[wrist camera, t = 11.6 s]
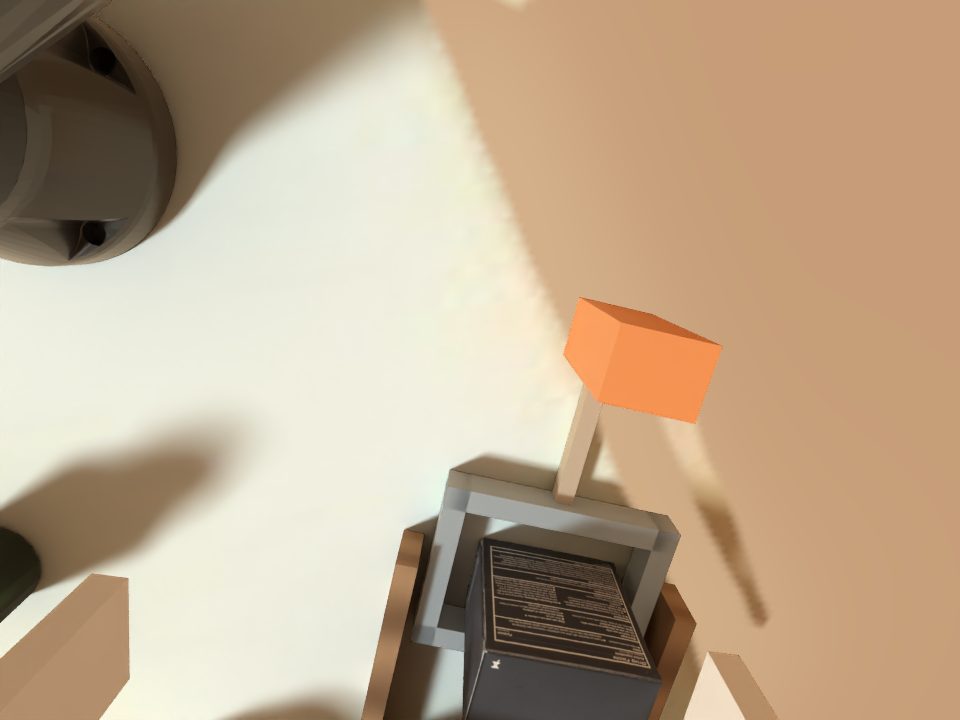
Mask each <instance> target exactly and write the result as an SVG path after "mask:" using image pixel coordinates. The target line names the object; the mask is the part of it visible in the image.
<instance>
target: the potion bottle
mask: <svg viewBox="0 0 960 720" xmlns="http://www.w3.org/2000/svg"><path fill="white" fill-rule="evenodd" d="M39 579H40V565H39V559H38V557H37V555H36V554H35V552H34V550H33V548H32V546H30V545H29V544H28V543H27V542H26V541H25V540H24V539H23V538H22V537H20V536H19V535H17V534H15V533H13V532H10V531H8V530H6V529H4V528H0V623H1V622H2V621H3V620H4V619H5V618H6V617H7V616H8V615H9V614H10V613H11V612H12V611H13V610H14V609H15V608H17V607H18V606H19V605H20V604H21V603H22V602H23V601H24V600H25V599H26V598H27V597H28V596H29V595H30V594H31V593H32V592H33V591H35V588H36V586H37V584H38V581H39Z"/></svg>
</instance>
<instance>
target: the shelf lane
mask: <svg viewBox="0 0 960 720" xmlns="http://www.w3.org/2000/svg"><path fill="white" fill-rule="evenodd" d="M423 537H424V534H422V533H417V532H412V531H407V530H404V532H403V536H402V540H401V544H400V548H399V552H398V556H397V560H396V564H395V569H394V573H393V578H392V583H391V587H390V592H389V596H388V601H387V605H386V610H385V614H384V619H383V623H382V628H381V632H380V637H379V641H378V646H377V650H376V655H375V659H374V664H373V669H372V673H371V678H370V682H369V687H368V691H367V696H366V700H365V705H364V709H363V714H362V718H361V720H383V715H384V711H385V707H386V703H387V698H388V694H389V690H390V685H391V681H392V677H393V673H394V668H395V664H396V660H397V655H398V651H399V647H400V643H401V638H402V634H403V630H404V625H405V621H406V617H407V613H408V608H409V604H410V600H411V595H412V591H413V587H414V583H415V578H416V574H417V570H418V565H419V559H420V554H421V548H422V542H423ZM695 627H696V622H695V620H694V618H693V617H692V615H691V613H690V611H689V610H688V608H687V606H686V604H685V602H684V601H683V599H682V597H681V595H680V594H679V592H678V590H677V588H676V586H675V585H673V584H668V583H663V585H662V588H661V591H660V593H659V596H658V599H657V602H656V604H655V607H654V610H653V612H652V615H651V618H650V621H649V623H648V626H647V629H646V631H645V634H644V637H643V639H644V641H645V643H646V646H647V648H648V651H649V653H650V655H651V657H652V659H653V662H654V665H655V667H656V668H657V670H658V672H659V674H660V676H661V679H662V685H661V687H660V690H659V693H658V695H657V698H656V701H655V703H654V706H653V708H652V711H651V714H650V716H649V719H648V720H659V718H660V715H661V713H662V710H663V707H664V705H665V702H666V700H667V697H668V695H669V692H670V690H671V687H672V685H673V682H674V680H675V677H676V675H677V672H678V670H679V667H680V665H681V662H682V659H683V657H684V654H685V652H686V649H687V647H688V644H689V642H690V639H691V637H692V634H693V632H694V629H695Z"/></svg>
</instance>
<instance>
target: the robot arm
mask: <svg viewBox="0 0 960 720" xmlns="http://www.w3.org/2000/svg"><path fill="white" fill-rule="evenodd" d="M112 1H113V0H0V258H2V259H6V260H9V261H13V262H17V263H23V264H29V265H38V266H67V265H82V264H91V263H96V262H101V261H104V260H108V259H110V258H113V257H116V256H118V255H120V254H122V253H124V252H126V251H127V250H129V249H131V248H132V247H134V246H135V245H136V244H138V243H139V242H140V241H141V240H142V239H144V238H145V237H146V236H147V234H148V233H149V232H150V231H151V230H152V229H153V228H154V226H155V225H156V224H157V222H158V221H159V219H160V217H161V216H162V214H163V212H164V210H165V208H166V206H167V204H168V201H169V198H170V196H171V192H172V189H173V185H174V180H175V173H176V141H175V134H174V128H173V124H172V120H171V116H170V113H169V110H168V107H167V104H166V101H165V99H164V97H163V94H162V92H161V90H160V88H159V86H158V84H157V82H156V80H155V79H154V77H153V75H152V74H151V72H150V70H149V69H148V68H147V66H146V65H145V63H144V62H143V60H142V59H141V58H140V57H139V55H138V54H137V53H136V52H135V51H134V50H133V49H132V47H131V46H130V45H129V44H128V43H127V42H126V41H125V40H124V39H123V38H122V37H121V36H120V35H118V34H117V33H116V32H115V31H114V30H112V29H111V28H110V27H109V26H107V25H106V24H105V23H103V22H102V21H100V20H99V19H97V18H95V17H94V16H92V15H94V14H95V13H97V12H98V11H99V10H101V9H102V8H103V7H105V6H106V5H107V4H109V3H110V2H112ZM129 679H130V674H129V593H128V578H123V577H115V576H107V575H99V574H91V575H90V576H89V577H88V578H86V579H85V580H84V581H83V582H82V583H81V584H80V585H79V586H78V587H77V588H76V589H75V590H74V591H73V592H71V593H70V594H69V595H68V596H67V597H66V598H65V599H64V600H63V601H62V602H61V603H60V604H59V605H58V606H56V607H55V608H54V609H53V610H52V611H51V612H50V613H49V614H48V615H47V616H46V617H45V618H44V619H43V620H41V621H40V622H39V623H38V624H37V625H36V626H35V627H34V628H33V629H32V630H31V631H30V632H29V633H27V634H26V635H25V636H24V637H23V638H22V639H21V640H20V641H19V642H18V643H17V644H16V645H15V646H14V647H12V648H11V649H10V650H9V651H8V652H7V653H6V654H5V655H4V656H3V657H2V658H1V659H0V720H99V719H100V718H101V716H102V715H103V714H104V712H105V711H106V710H107V708H108V707H109V706H110V704H111V703H112V702H113V700H114V699H115V697H116V696H117V695H118V693H119V692H120V691H121V689H122V688H123V687H124V685H125V684H126V683H127V681H128V680H129ZM684 720H779V719H778V717H777V716H776V714H775V713H774V711H773V710H772V708H771V706H770V705H769V703H768V701H767V700H766V698H765V696H764V695H763V693H762V692H761V690H760V688H759V687H758V685H757V684H756V682H755V680H754V679H753V677H752V676H751V674H750V672H749V671H748V669H747V667H746V666H745V664H744V663H743V661H742V659H741V658H740V656H739V655H732V654H723V653H716V652H707V655H706V658H705V660H704V663H703V666H702V669H701V672H700V675H699V677H698V680H697V683H696V686H695V689H694V692H693V694H692V697H691V700H690V703H689V706H688V708H687V711H686V714H685V717H684Z"/></svg>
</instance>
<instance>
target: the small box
mask: <svg viewBox="0 0 960 720" xmlns="http://www.w3.org/2000/svg"><path fill="white" fill-rule="evenodd" d="M464 636H465V639H464V676H463V716H462V720H648V719H649V716H650V714H651V711H652V708H653V706H654V703H655V701H656V698H657V695H658V693H659V690H660V687H661V685H662V679H661V676H660V674H659V672H658V670H657V668H656V667H655V665H654V662H653V659H652V657H651V655H650V653H649V651H648V648H647V646H646V643H645V641H644V639H643V636H642V633H641V631H640V628H639V625H638V623H637V621H636V619H635V616H634V614H633V611H632V609H631V606H630V604H629V601H628V599H627V597H626V594H625V591H624V589H623V586H622V584H621V582H620V579H619V576H618V574H617V571H616V567H615V565H614V563H611V562H606V561H600V560H596V559H590V558H585V557H580V556H575V555H570V554H564V553H560V552H554V551H549V550H544V549H539V548H533V547H528V546H523V545H518V544H513V543H508V542H502V541H497V540H491V539H486V538H483V539H482V540H481V541H480V542H479V545H478V554H477V555H476V561H475V566H474V570H473V573H472V575H471V581H470V584H469V585H468V589H467V595H466V601H465V635H464Z"/></svg>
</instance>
